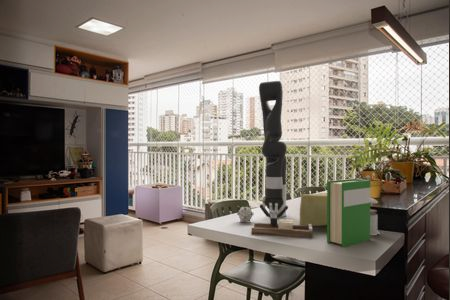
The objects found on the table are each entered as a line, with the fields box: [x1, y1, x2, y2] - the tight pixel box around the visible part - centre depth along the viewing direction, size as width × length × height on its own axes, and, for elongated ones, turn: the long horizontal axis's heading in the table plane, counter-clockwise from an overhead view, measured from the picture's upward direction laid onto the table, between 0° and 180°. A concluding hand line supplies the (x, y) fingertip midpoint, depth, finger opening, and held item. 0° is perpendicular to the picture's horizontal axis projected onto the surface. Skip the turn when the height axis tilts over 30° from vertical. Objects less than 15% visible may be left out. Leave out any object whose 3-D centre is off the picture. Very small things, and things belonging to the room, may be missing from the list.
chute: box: [250, 222, 314, 238], centre depth 137 cm, size 10×25×4 cm, turn 78°
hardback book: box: [326, 178, 371, 248], centre depth 125 cm, size 18×7×24 cm, turn 125°
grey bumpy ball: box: [236, 205, 254, 223], centre depth 158 cm, size 9×8×10 cm
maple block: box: [277, 218, 294, 230], centre depth 137 cm, size 6×6×4 cm
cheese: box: [299, 192, 327, 227], centre depth 153 cm, size 22×10×15 cm, turn 110°
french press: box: [365, 175, 381, 236], centre depth 140 cm, size 10×12×25 cm
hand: (273, 226), depth 138 cm, fingers closed
